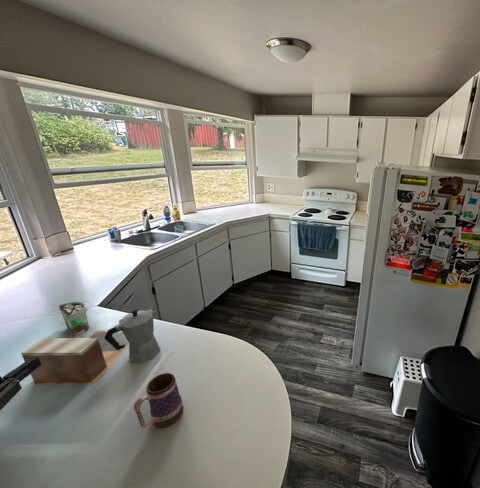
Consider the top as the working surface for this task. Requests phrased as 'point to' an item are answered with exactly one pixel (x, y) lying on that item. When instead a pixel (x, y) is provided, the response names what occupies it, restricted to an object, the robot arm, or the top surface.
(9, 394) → the robot arm
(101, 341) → the wooden board
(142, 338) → the coffeepot
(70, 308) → the food container
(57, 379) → the brown rectangular block
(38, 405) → the top surface
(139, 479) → the top surface
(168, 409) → the mug
